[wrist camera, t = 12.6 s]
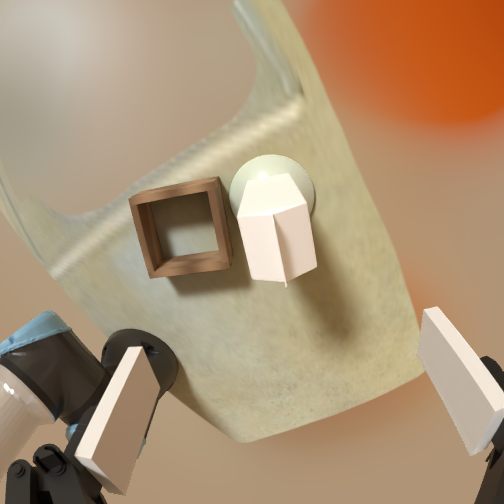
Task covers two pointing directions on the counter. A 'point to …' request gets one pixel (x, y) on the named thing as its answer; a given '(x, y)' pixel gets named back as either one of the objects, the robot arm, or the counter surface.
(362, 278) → the counter surface
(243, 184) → the cream glossy dome
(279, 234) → the milk
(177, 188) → the sleeve
